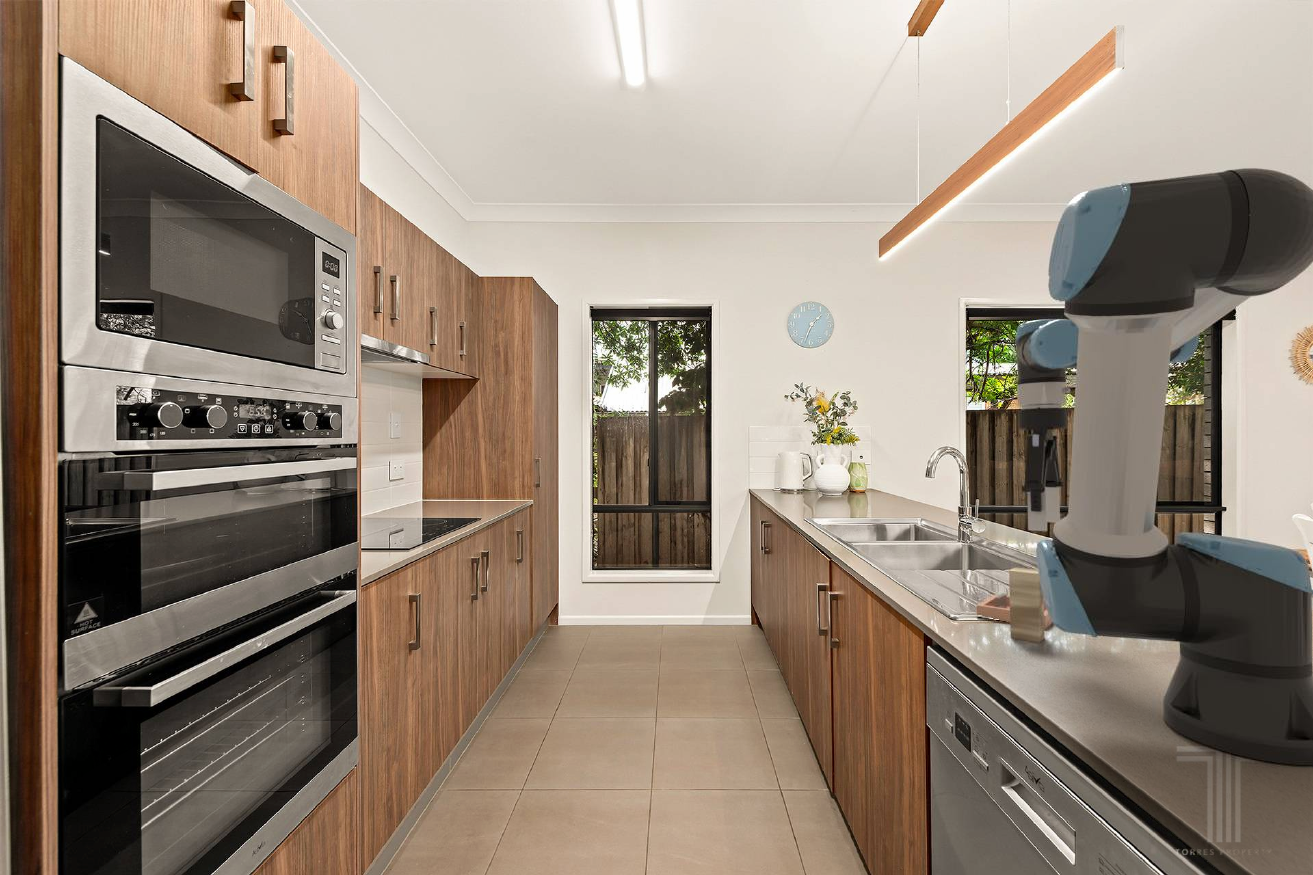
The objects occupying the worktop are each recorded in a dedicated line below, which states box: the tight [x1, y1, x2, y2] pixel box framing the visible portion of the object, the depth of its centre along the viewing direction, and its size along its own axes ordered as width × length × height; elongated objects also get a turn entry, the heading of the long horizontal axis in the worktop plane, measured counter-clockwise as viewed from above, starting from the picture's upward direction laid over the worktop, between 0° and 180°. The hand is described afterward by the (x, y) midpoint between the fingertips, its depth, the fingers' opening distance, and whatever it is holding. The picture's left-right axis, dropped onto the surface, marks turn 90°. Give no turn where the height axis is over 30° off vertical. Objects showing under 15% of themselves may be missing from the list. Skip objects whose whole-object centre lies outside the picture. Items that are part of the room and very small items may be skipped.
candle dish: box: [976, 592, 1053, 630], centre depth 127 cm, size 12×12×4 cm
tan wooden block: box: [1008, 567, 1046, 644], centre depth 113 cm, size 4×4×12 cm
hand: (1044, 526), depth 114 cm, fingers open, 13 cm apart
